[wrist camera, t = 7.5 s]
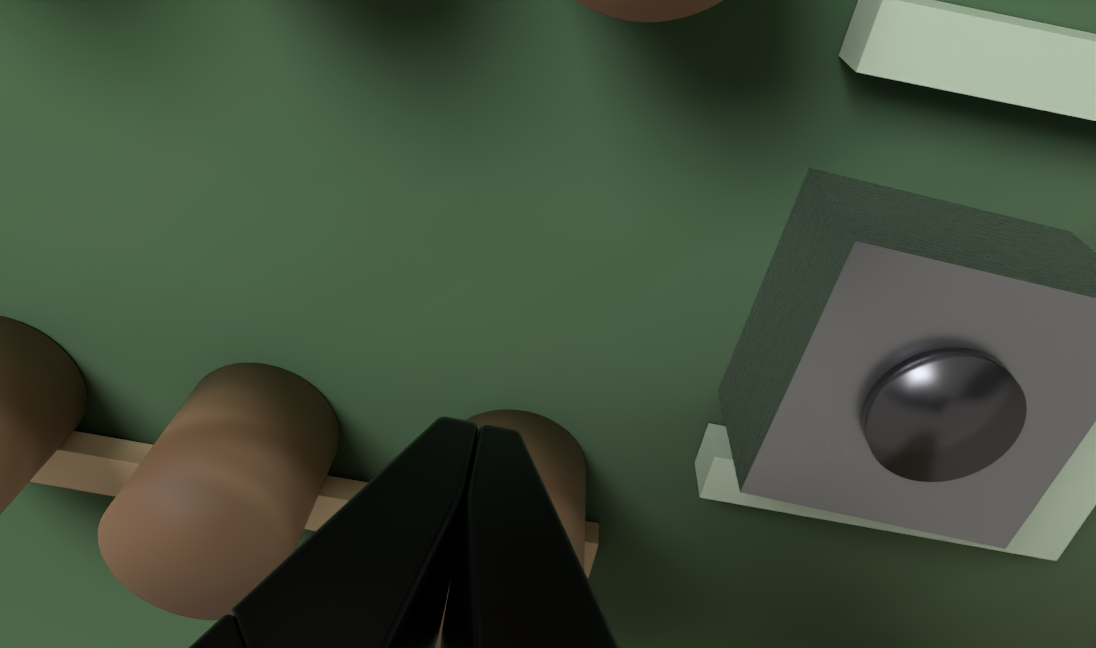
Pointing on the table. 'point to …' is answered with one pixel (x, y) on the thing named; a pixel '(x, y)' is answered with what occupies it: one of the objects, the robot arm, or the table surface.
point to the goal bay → (987, 72)
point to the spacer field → (230, 457)
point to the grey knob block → (913, 362)
